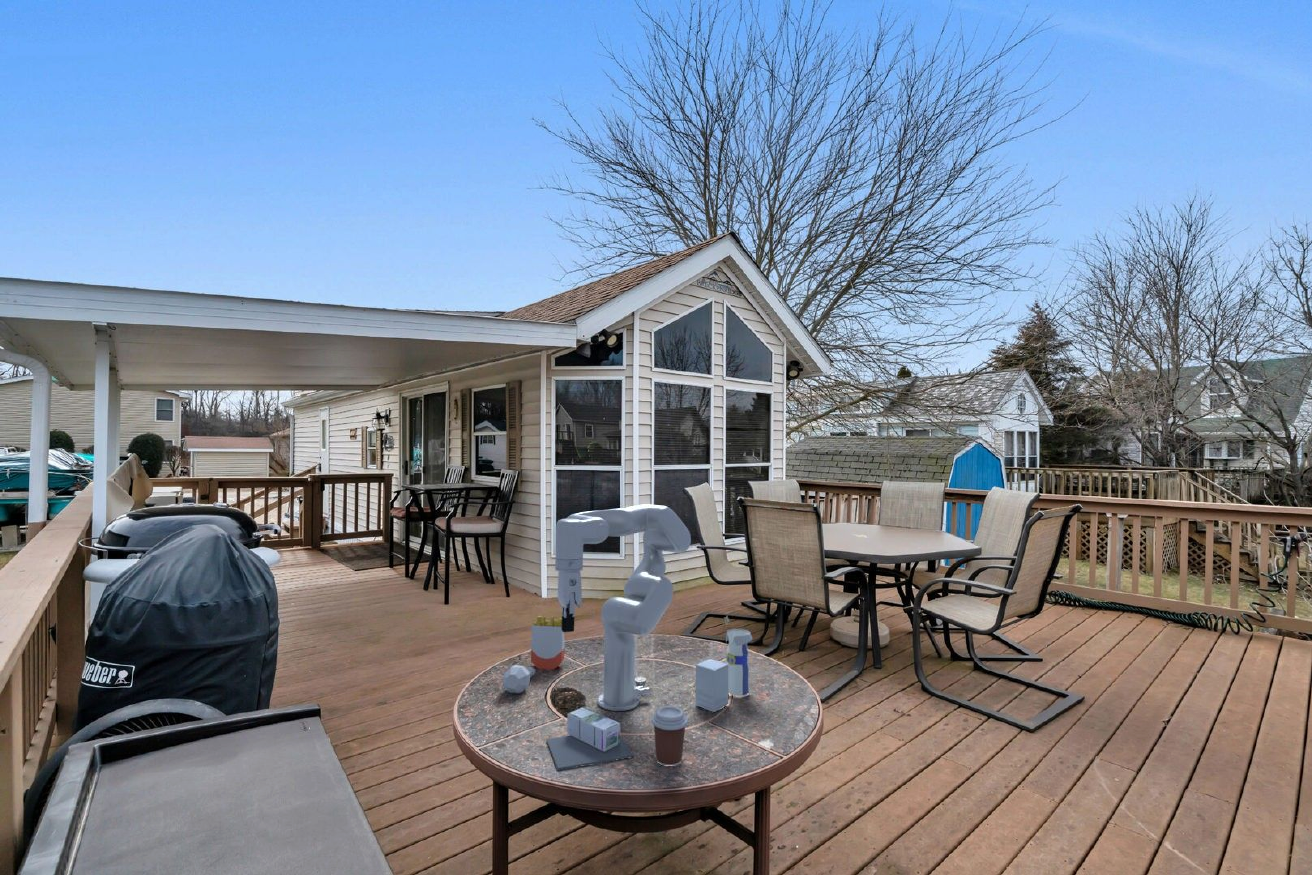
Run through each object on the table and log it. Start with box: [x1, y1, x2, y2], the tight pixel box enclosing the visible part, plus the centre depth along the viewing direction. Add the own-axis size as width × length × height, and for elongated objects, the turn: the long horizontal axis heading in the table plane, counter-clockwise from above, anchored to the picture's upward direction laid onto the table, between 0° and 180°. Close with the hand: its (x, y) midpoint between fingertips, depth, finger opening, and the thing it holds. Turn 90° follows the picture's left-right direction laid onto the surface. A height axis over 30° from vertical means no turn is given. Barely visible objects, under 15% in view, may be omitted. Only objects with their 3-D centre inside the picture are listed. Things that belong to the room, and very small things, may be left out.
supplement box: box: [695, 658, 729, 711], centre depth 181 cm, size 7×7×13 cm
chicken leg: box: [502, 664, 536, 694], centre depth 193 cm, size 8×18×8 cm, turn 174°
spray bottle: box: [723, 615, 753, 695], centre depth 191 cm, size 8×9×25 cm
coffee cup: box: [651, 705, 689, 765], centre depth 149 cm, size 9×9×12 cm
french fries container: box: [530, 615, 565, 670], centre depth 210 cm, size 5×11×18 cm, turn 85°
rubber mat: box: [546, 734, 634, 771], centre depth 153 cm, size 19×15×1 cm
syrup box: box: [566, 706, 621, 752], centre depth 157 cm, size 6×6×14 cm
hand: (567, 630), depth 164 cm, fingers closed
